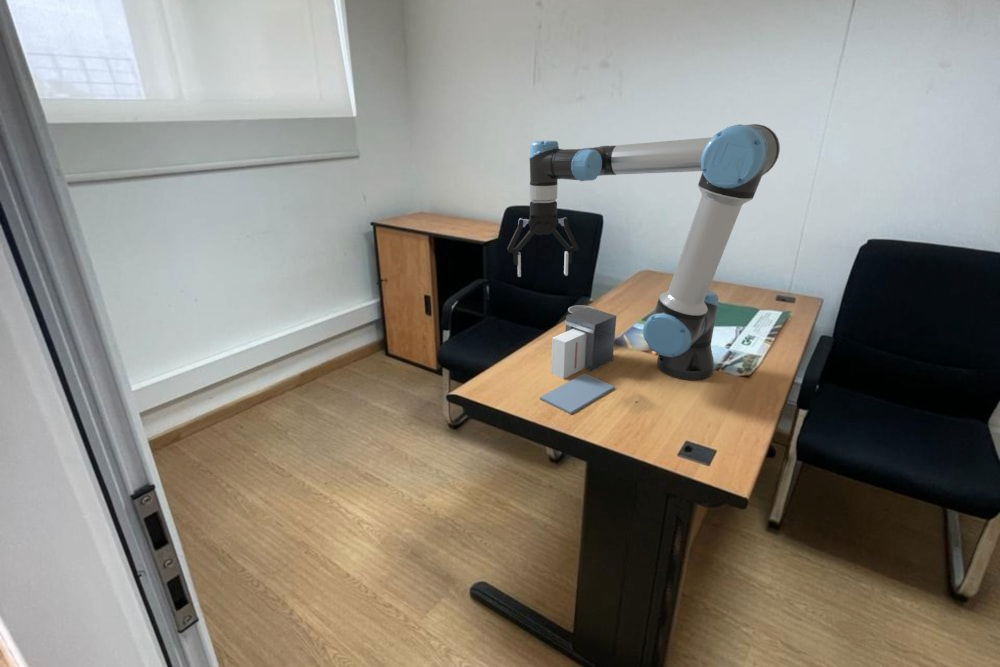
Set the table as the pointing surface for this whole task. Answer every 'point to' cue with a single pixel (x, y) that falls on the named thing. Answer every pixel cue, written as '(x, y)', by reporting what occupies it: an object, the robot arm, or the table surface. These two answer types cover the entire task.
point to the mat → (577, 393)
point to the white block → (569, 352)
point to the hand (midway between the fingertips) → (542, 275)
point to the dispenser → (595, 334)
